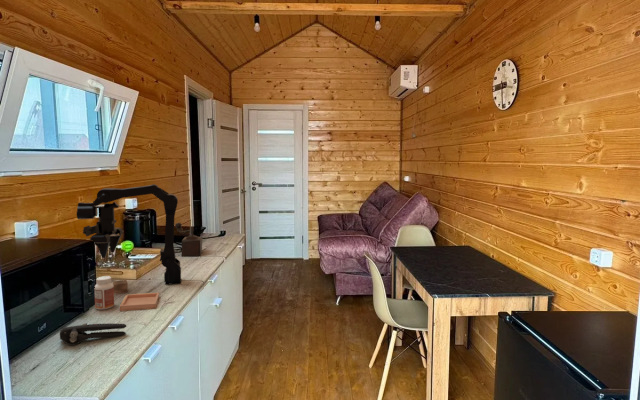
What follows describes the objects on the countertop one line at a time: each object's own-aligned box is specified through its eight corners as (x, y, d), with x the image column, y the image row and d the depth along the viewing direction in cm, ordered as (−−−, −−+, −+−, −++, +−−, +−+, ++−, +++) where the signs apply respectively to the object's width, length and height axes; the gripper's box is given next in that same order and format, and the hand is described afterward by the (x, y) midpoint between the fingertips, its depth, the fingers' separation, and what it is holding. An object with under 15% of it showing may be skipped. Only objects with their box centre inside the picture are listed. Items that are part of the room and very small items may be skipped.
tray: (159, 296, 152) (159, 292, 152) (155, 308, 141) (155, 303, 141) (126, 299, 149) (126, 294, 149) (119, 310, 137) (119, 306, 137)
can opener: (57, 350, 109) (56, 331, 109) (61, 339, 115) (61, 321, 115) (126, 340, 117) (126, 322, 116) (127, 330, 123) (126, 314, 122)
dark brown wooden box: (202, 252, 227) (203, 222, 225) (200, 256, 216) (200, 225, 214) (175, 252, 225) (175, 222, 223) (171, 256, 214) (171, 225, 212)
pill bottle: (114, 302, 145) (114, 274, 144) (113, 308, 139) (113, 279, 138) (95, 305, 142) (95, 276, 141) (94, 311, 136) (93, 281, 135)
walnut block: (126, 288, 161) (126, 279, 160) (127, 292, 156) (127, 283, 156) (113, 290, 158) (112, 281, 158) (113, 294, 154) (113, 284, 153)
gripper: (95, 215, 167) (97, 249, 168) (74, 222, 148) (76, 261, 150) (122, 215, 168) (123, 249, 170) (105, 222, 150) (107, 260, 152)
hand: (108, 254), depth 160 cm, fingers open, 9 cm apart
